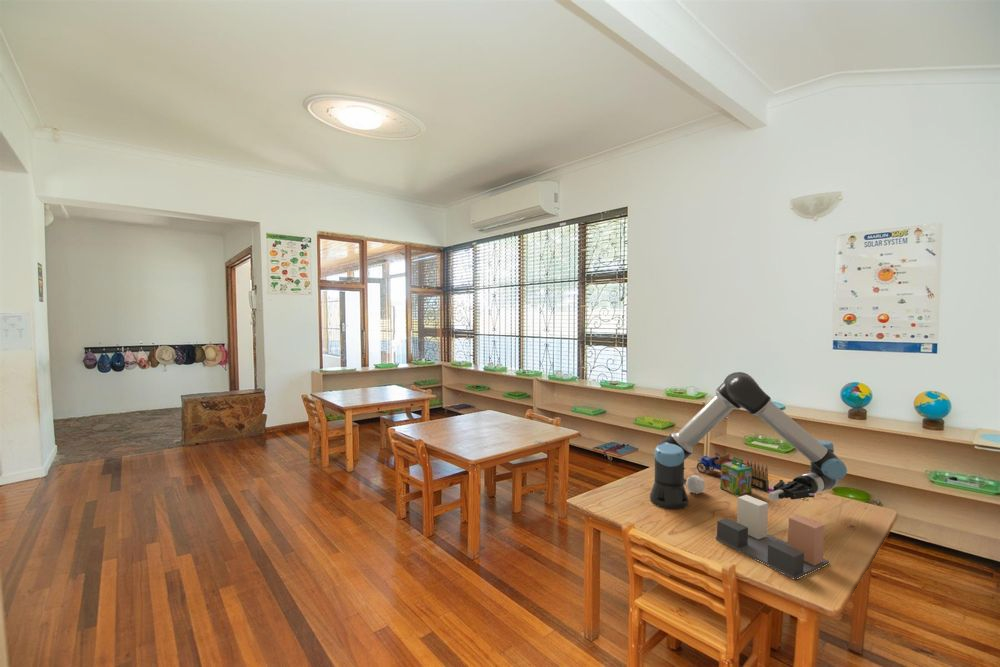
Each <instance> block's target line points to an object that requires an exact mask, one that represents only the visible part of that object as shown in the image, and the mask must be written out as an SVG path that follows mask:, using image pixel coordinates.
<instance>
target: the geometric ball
mask: <svg viewBox="0 0 1000 667" xmlns="http://www.w3.org/2000/svg"><path fill="white" fill-rule="evenodd" d="M685 486H686V488H687V490H688V491H689V492H691V493H693V494H695V493H696V495H698V494H699V495H700V494H701V493H703V492H704V490H705V489H706V482H705V480H704V479H703V478H702V477H700V476H699V475H695V474H693V475H690V476H689V477H688V478H687V479H686V483H685Z"/></svg>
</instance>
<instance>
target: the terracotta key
mask: <svg viewBox="0 0 1000 667" xmlns="http://www.w3.org/2000/svg"><path fill="white" fill-rule="evenodd" d="M787 537H788V541H787V543H788V546H790V547H792V548H794V549H797V550H799V551H801V552H803V553H804V561H805V562H807V563H809V564H812V565H814V566H815V565H817V564H819V563H821V562H823V559H824V547H825V546H824V545H825V541H824V540H825V524H824V523H821V522H818V521H815V520H812V519H810V518H808V517H806V516H802V515H800V514H795V515H793V516H791V517H788V536H787Z"/></svg>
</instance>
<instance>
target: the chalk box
mask: <svg viewBox="0 0 1000 667" xmlns="http://www.w3.org/2000/svg"><path fill="white" fill-rule="evenodd" d="M732 460H733V461H732V462H730V463H725V464H721V470H720V472H721V474H720V484H719V485H720V489H722V490H724V491H726V492H728V493H730V494H733V495H735V494H736V495H735V496H737V495H738V496H743V495H746V494H749V493H751V492H752V487H751V480H752V468H751V467H749V466H746V465H744V464H742V463H744V460H743V459H742V458H739V457H736V456H733V457H732ZM735 461H739V462H740V463H738V462H735ZM745 493H746V494H745Z"/></svg>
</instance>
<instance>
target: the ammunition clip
mask: <svg viewBox="0 0 1000 667" xmlns="http://www.w3.org/2000/svg"><path fill="white" fill-rule="evenodd" d="M745 463H746V466H749V465H750V466H749V467H751V468H752V480H751V486H752V487H751V488H754V487H755V489H757V488H758V489H757V490H759V489H760V491H762V490H763V491H762V492H766V493H768V492H770V491H769V488H770V485H769V483H770V482H769V473H768V465H767V464H765V465H764V464H763V463H761V465H760V462H756V461H754V462H753V460H749V459H748V458H747V459H746V462H745Z"/></svg>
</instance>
